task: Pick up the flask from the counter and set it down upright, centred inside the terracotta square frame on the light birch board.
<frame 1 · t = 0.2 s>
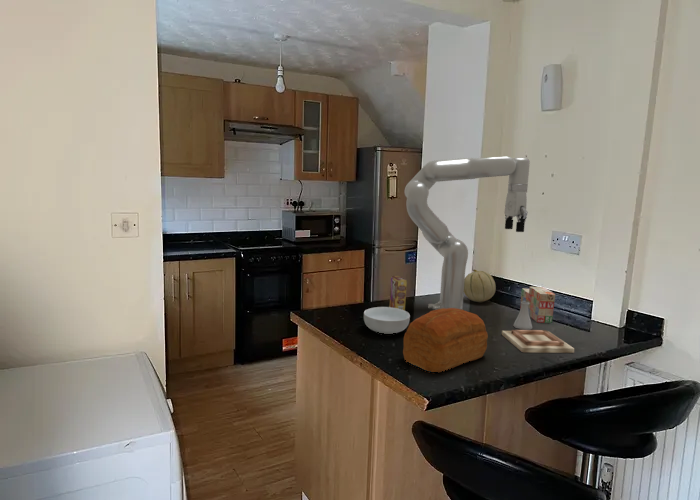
hand: (514, 230, 200), 36 cm above the table, tool pointing down, fingers open, 9 cm apart
flask: (522, 327, 189), on the table
cereal bowl: (385, 332, 178), on the table
candy box: (396, 314, 201), on the table
stack of blocks: (535, 315, 207), on the table
cantaloupe: (477, 301, 226), on the table
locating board: (536, 343, 171), on the table
bread: (444, 359, 154), on the table
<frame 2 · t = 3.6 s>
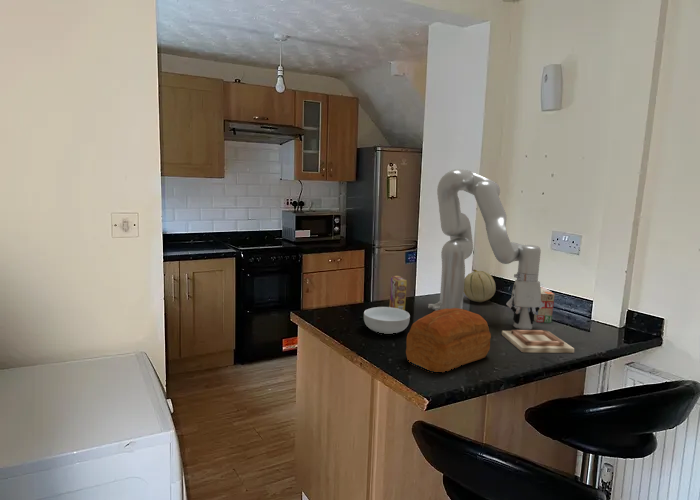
hand: (523, 322, 189), 2 cm above the table, tool pointing down, fingers closed on flask, 4 cm apart
flask: (522, 327, 189), on the table, touching gripper
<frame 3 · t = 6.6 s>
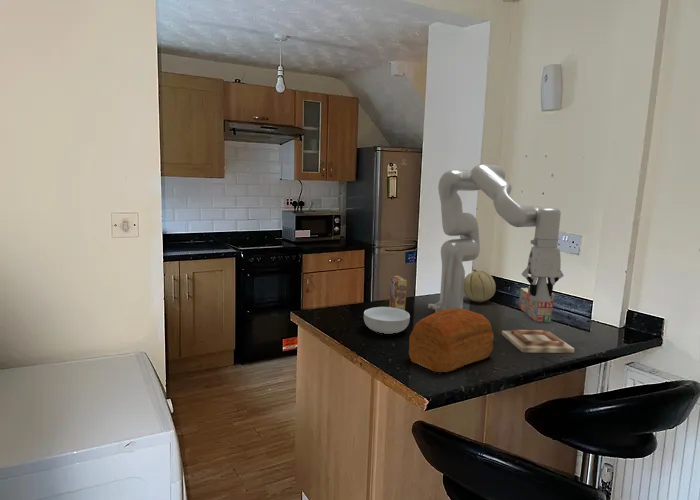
hand: (540, 294, 169), 17 cm above the table, tool pointing down, fingers closed on flask, 4 cm apart
flask: (539, 300, 169), point 15 cm above the table, touching gripper
when the fingers open (4 cm above the table, at t = 9.5 s): flask stays where it is, resting on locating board.
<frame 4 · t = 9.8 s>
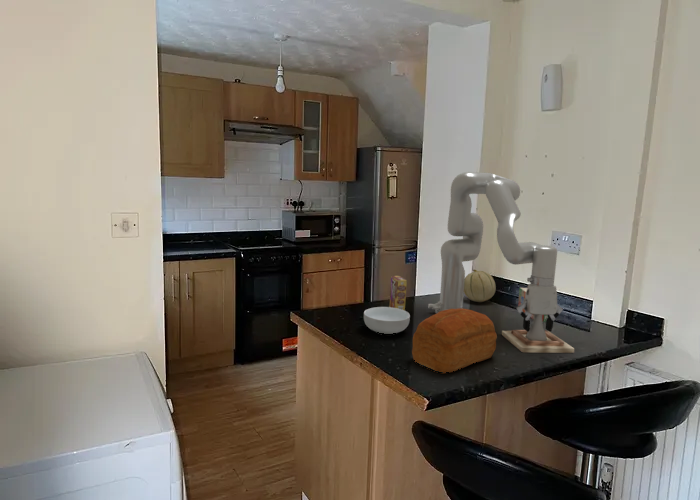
hand: (537, 330, 170), 5 cm above the table, tool pointing down, fingers open, 7 cm apart
flask: (536, 339, 171), point 1 cm above the table, touching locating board
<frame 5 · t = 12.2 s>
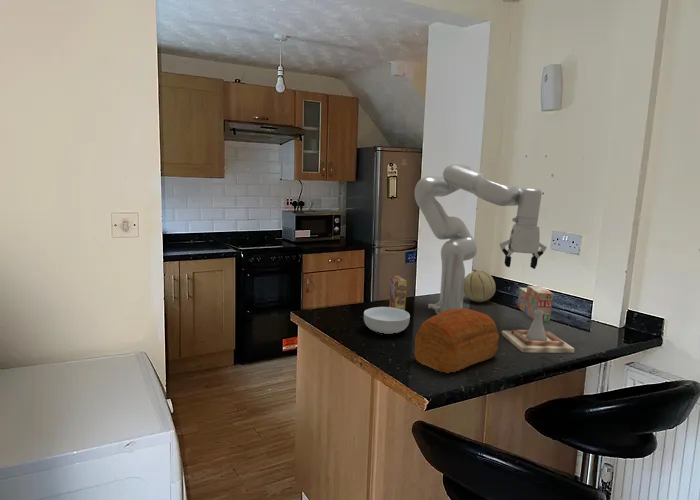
hand: (520, 267, 181), 25 cm above the table, tool pointing down, fingers open, 9 cm apart
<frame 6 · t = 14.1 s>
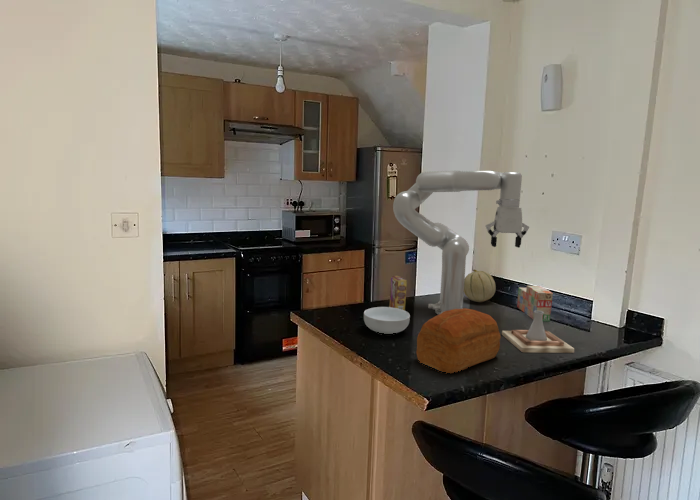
hand: (505, 246, 193), 30 cm above the table, tool pointing down, fingers open, 9 cm apart
at the end: flask 0.2 cm off-centre on the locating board, point 1.3 cm above the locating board's base; flask tilted 0°; the gripper is holding nothing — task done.
